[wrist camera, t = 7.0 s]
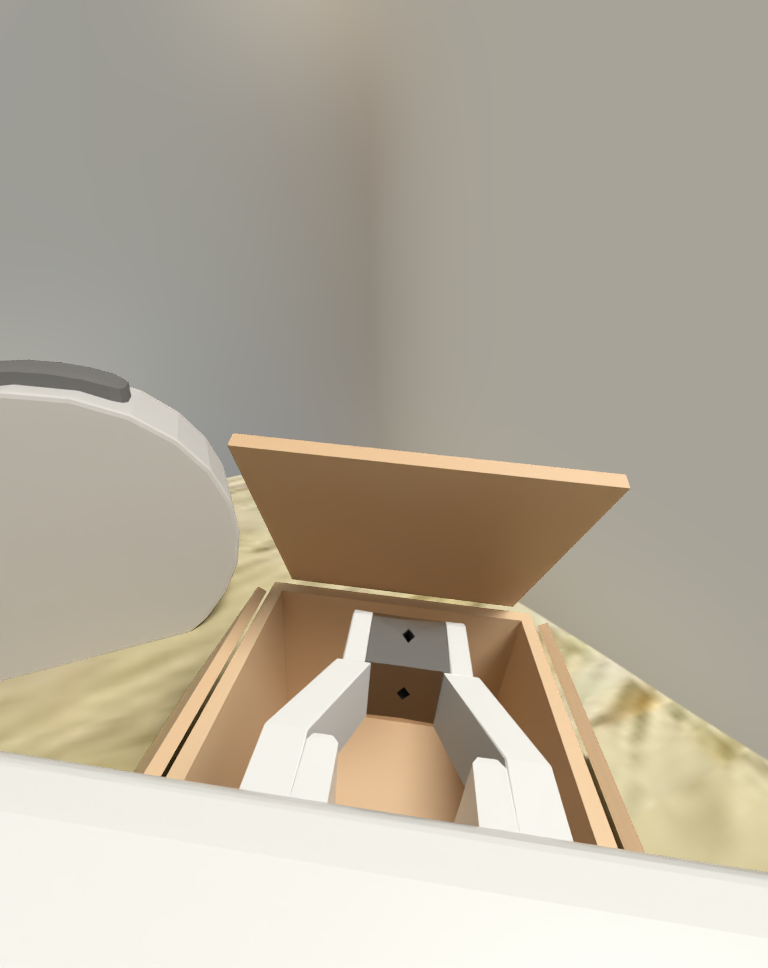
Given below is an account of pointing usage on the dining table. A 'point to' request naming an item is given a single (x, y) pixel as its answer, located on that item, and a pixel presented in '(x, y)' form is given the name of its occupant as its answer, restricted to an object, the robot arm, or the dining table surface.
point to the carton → (380, 739)
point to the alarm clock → (102, 518)
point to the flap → (419, 516)
